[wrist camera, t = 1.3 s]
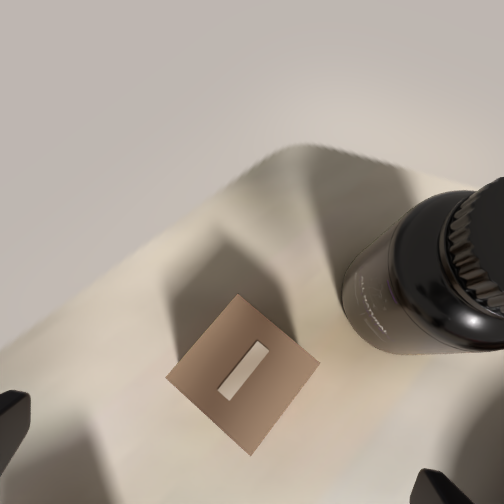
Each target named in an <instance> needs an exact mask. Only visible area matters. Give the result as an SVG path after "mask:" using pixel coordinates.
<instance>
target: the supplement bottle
mask: <svg viewBox="0 0 504 504" xmlns="http://www.w3.org/2000/svg"><path fill="white" fill-rule="evenodd" d="M342 301H343V307H344V310H345V313H346V316H347V318H348V320H349V322H350V324H351V325H352V327H353V328H354V330H355V331H356V332H357V333H358V334H359V335H360V336H361V337H362V338H363V339H364V340H365V341H366V342H367V343H369V344H370V345H372V346H374V347H375V348H377V349H379V350H382V351H385V352H388V353H392V354H398V355H427V354H452V353H477V352H491V351H498V350H504V177H500V178H498V179H496V180H495V181H493V182H492V183H489V184H487V185H485V186H484V187H482V188H481V189H480V190H478V191H467V190H461V191H450V192H445V193H441V194H438V195H435V196H432V197H430V198H428V199H426V200H424V201H422V202H421V203H419V204H418V205H416V206H415V207H414V208H412V209H411V210H410V211H409V212H407V213H406V214H405V215H404V216H403V217H402V218H400V219H399V220H398V221H397V222H396V223H395V224H393V225H392V226H391V227H390V228H389V229H388V230H387V231H385V232H384V233H383V234H382V235H381V236H380V237H378V238H377V239H376V240H375V241H374V242H373V243H372V244H370V245H369V246H368V247H367V248H366V249H365V250H363V251H362V252H361V253H360V254H359V255H358V256H357V257H356V258H355V259H354V261H353V262H352V263H351V265H350V266H349V268H348V270H347V272H346V274H345V277H344V280H343V285H342Z"/></svg>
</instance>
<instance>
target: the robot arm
mask: <svg viewBox="0 0 504 504" xmlns="http://www.w3.org/2000/svg"><path fill="white" fill-rule="evenodd" d="M30 421H31V398H30V395H29V394H28V393H27V392H22V391H16V390H9V391H6V392H4V393H2V394H0V476H1V475H2V473H3V472H4V470H5V468H6V467H7V465H8V463H9V462H10V460H11V458H12V457H13V455H14V454H15V452H16V450H17V449H18V447H19V445H20V444H21V442H22V441H23V439H24V437H25V436H26V434H27V432H28V430H29V427H30ZM410 504H474V503H473V502H472V501H471V500H470V499H469V498H468V497H467V496H466V495H465V494H464V493H463V492H462V491H461V490H460V489H459V488H458V487H457V486H456V485H455V484H454V483H452V482H451V481H450V480H449V479H448V478H447V477H446V476H445V475H444V474H443V473H442V472H440V471H437V470H432V469H426V468H424V469H421V470H420V472H419V474H418V476H417V479H416V482H415V484H414V487H413V490H412V492H411V495H410Z"/></svg>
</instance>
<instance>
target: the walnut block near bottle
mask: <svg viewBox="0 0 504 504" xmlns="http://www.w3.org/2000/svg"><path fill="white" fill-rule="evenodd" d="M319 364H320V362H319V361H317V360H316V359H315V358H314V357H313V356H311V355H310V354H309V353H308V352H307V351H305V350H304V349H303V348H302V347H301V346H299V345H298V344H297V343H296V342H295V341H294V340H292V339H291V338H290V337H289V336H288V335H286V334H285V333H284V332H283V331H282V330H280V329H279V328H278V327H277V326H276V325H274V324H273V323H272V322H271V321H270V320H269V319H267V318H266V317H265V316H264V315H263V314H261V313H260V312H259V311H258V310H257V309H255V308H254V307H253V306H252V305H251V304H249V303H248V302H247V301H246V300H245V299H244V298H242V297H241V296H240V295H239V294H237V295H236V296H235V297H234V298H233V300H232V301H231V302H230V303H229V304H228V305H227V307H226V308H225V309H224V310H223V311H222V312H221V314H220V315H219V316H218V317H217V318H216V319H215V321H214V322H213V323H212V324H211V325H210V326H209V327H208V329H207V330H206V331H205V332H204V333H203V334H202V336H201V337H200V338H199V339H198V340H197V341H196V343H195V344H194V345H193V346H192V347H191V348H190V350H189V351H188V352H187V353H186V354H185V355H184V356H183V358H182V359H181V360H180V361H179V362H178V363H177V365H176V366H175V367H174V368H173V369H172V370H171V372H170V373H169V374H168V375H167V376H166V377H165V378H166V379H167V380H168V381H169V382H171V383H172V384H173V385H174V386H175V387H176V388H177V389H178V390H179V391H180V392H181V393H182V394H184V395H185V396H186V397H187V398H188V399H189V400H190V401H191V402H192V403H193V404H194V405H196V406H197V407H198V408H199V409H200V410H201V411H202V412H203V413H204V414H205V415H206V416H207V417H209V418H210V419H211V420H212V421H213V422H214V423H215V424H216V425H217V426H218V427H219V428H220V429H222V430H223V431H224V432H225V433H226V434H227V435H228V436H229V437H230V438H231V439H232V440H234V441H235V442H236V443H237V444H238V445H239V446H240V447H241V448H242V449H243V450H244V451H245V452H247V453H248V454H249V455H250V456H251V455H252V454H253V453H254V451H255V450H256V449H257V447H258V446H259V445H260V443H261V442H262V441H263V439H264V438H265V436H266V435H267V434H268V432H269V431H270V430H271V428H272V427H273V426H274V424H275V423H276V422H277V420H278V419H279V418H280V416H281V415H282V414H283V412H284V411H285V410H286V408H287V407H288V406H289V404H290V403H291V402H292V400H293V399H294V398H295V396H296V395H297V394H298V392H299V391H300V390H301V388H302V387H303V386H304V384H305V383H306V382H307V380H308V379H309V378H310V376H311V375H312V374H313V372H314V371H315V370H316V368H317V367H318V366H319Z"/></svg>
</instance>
